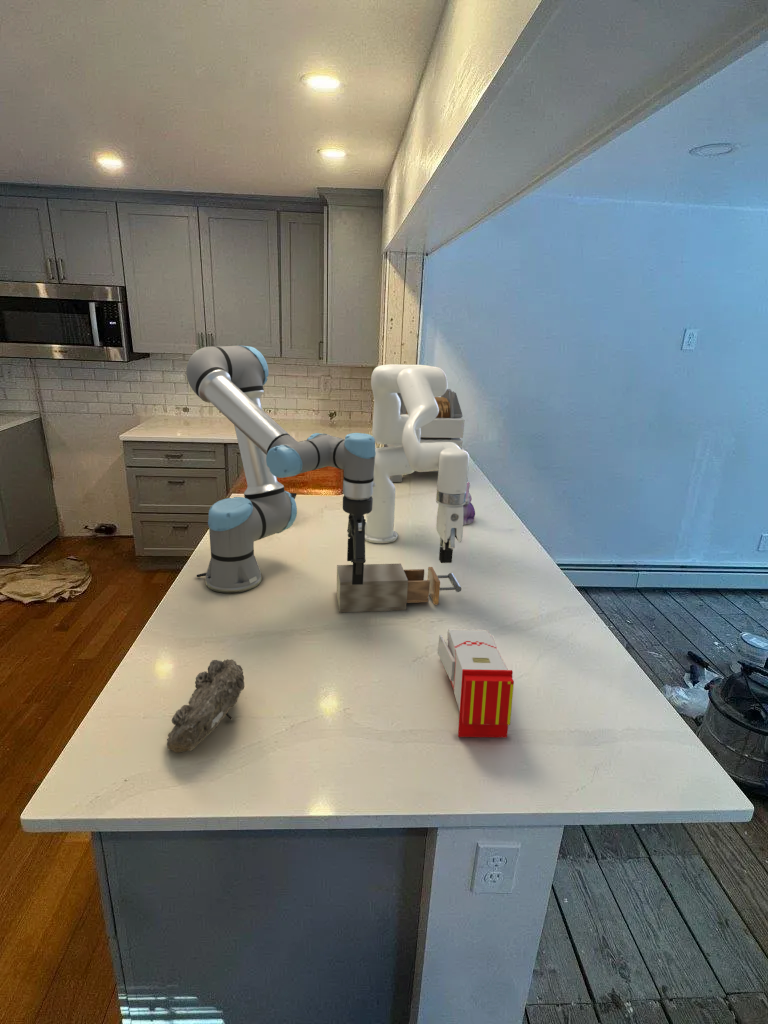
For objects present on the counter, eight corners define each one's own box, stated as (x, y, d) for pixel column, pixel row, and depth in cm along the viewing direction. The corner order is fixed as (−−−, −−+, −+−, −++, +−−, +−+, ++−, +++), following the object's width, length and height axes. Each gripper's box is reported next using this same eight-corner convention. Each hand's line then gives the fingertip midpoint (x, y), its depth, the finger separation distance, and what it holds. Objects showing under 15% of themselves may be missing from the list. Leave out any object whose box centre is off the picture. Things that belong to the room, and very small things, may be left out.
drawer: (451, 587, 161) (454, 566, 158) (460, 603, 152) (463, 580, 150) (373, 590, 157) (374, 568, 155) (377, 606, 149) (378, 583, 146)
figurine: (460, 527, 208) (464, 488, 203) (445, 518, 217) (448, 480, 212) (481, 523, 212) (485, 485, 207) (465, 515, 221) (469, 478, 216)
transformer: (382, 463, 289) (386, 382, 275) (445, 464, 293) (451, 384, 279) (390, 482, 257) (394, 392, 243) (460, 483, 261) (468, 394, 247)
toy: (488, 613, 130) (523, 677, 101) (484, 667, 133) (517, 744, 104) (435, 612, 130) (455, 676, 101) (432, 666, 133) (451, 743, 103)
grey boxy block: (399, 591, 159) (400, 563, 156) (406, 610, 150) (408, 580, 147) (336, 593, 156) (337, 565, 154) (339, 612, 147) (340, 582, 144)
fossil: (192, 660, 117) (244, 628, 112) (224, 691, 120) (276, 661, 115) (142, 746, 98) (202, 712, 93) (182, 779, 101) (242, 748, 96)
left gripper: (379, 513, 131) (375, 594, 139) (366, 480, 154) (363, 551, 162) (347, 513, 130) (344, 595, 137) (339, 480, 153) (336, 552, 160)
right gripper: (473, 506, 140) (466, 573, 146) (457, 488, 154) (451, 550, 160) (444, 506, 138) (438, 574, 145) (430, 488, 152) (425, 550, 159)
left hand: (354, 571), depth 150 cm, fingers open, 13 cm apart
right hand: (445, 561), depth 152 cm, fingers closed
